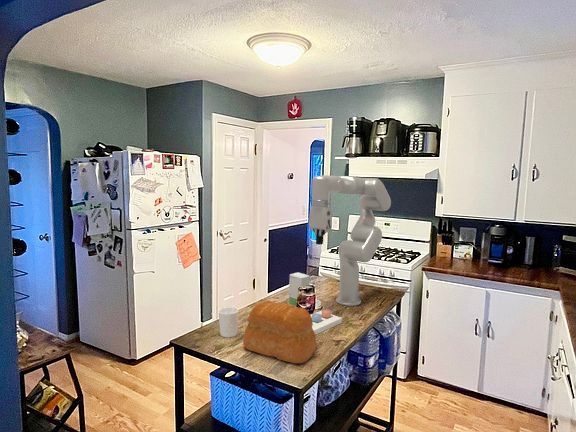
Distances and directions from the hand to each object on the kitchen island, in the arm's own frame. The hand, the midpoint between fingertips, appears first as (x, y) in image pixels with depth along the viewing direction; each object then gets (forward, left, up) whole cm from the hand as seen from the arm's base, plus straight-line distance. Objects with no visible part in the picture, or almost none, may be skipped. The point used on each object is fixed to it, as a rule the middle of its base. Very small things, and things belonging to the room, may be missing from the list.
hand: (319, 244), depth 176 cm
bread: (+38, +13, -34) cm, 52 cm away
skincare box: (-2, -14, -33) cm, 36 cm away
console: (+13, +10, -33) cm, 37 cm away
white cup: (+43, -11, -33) cm, 55 cm away
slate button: (+13, +10, -31) cm, 35 cm away
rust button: (+7, +10, -31) cm, 33 cm away
